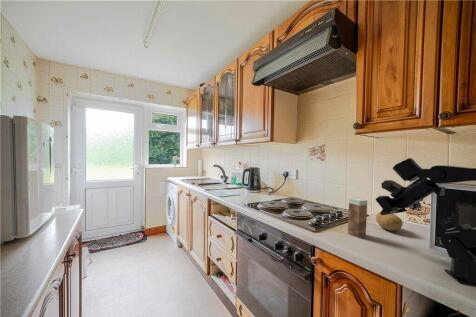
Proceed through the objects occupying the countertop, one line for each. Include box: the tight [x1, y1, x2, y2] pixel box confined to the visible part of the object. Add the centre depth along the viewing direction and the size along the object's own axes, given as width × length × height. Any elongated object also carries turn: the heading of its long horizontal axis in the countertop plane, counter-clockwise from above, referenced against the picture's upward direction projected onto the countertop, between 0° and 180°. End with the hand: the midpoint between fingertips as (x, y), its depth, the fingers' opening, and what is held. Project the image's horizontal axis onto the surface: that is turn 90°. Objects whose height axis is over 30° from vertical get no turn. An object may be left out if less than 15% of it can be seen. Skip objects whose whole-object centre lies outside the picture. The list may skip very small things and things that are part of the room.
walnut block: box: [347, 197, 368, 239], centre depth 90 cm, size 5×5×16 cm
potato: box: [375, 211, 404, 232], centre depth 98 cm, size 10×14×8 cm
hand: (381, 214), depth 80 cm, fingers closed
